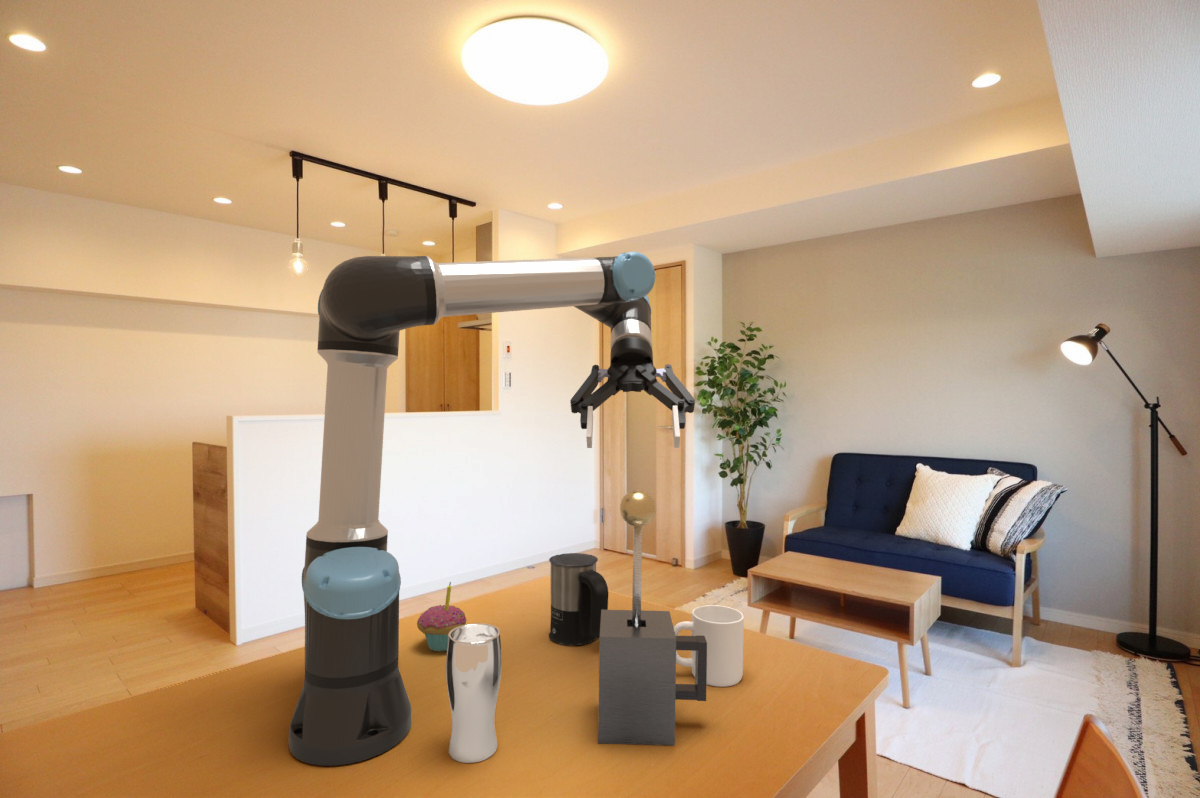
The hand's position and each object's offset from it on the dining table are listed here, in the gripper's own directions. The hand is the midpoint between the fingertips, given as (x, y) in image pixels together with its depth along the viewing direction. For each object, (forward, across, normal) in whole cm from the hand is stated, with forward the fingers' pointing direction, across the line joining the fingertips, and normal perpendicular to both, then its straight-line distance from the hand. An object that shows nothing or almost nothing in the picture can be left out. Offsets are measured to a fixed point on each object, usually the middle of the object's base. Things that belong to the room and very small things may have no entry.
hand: (633, 442), depth 93 cm
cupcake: (+18, +34, -36) cm, 53 cm away
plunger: (+27, 0, -12) cm, 29 cm away
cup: (+24, -12, -31) cm, 41 cm away
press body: (+34, -2, -20) cm, 40 cm away
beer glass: (+39, +21, -14) cm, 47 cm away
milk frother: (+13, +8, -42) cm, 45 cm away
